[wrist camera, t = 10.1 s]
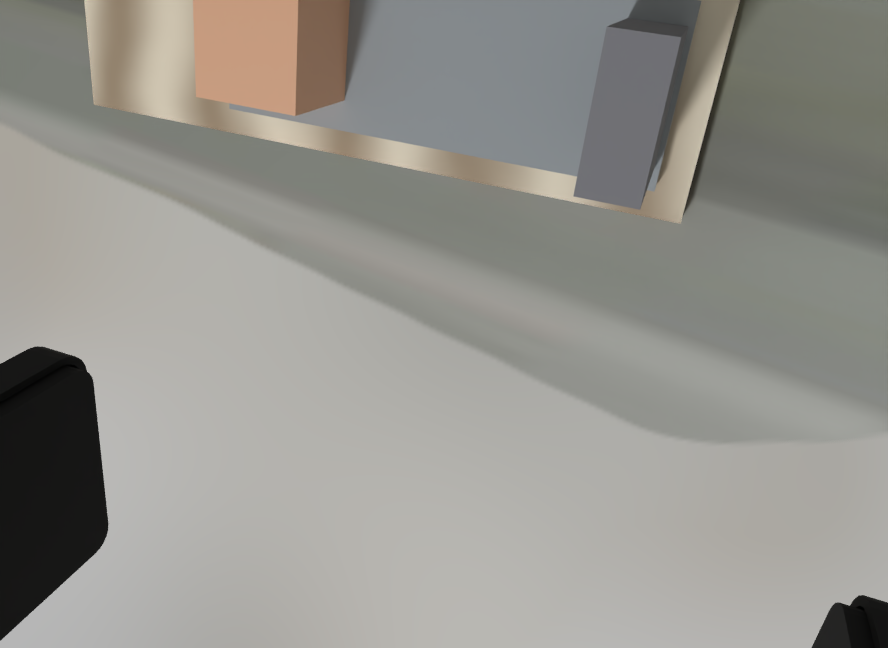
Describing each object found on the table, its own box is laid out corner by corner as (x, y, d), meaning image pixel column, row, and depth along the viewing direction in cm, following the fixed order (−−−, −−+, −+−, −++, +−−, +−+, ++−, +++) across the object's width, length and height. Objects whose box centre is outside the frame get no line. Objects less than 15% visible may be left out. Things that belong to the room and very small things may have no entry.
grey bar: (701, 0, 31) (696, 6, 25) (655, 187, 35) (640, 236, 28) (236, -62, 36) (127, -72, 30) (237, 106, 40) (140, 131, 33)
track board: (748, -35, 31) (749, -35, 30) (681, 217, 36) (680, 223, 35) (87, -115, 39) (73, -117, 38) (106, 102, 44) (94, 104, 43)
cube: (350, -10, 35) (298, -9, 31) (344, 100, 37) (295, 116, 33) (255, -24, 36) (192, -25, 32) (254, 83, 38) (196, 96, 34)
